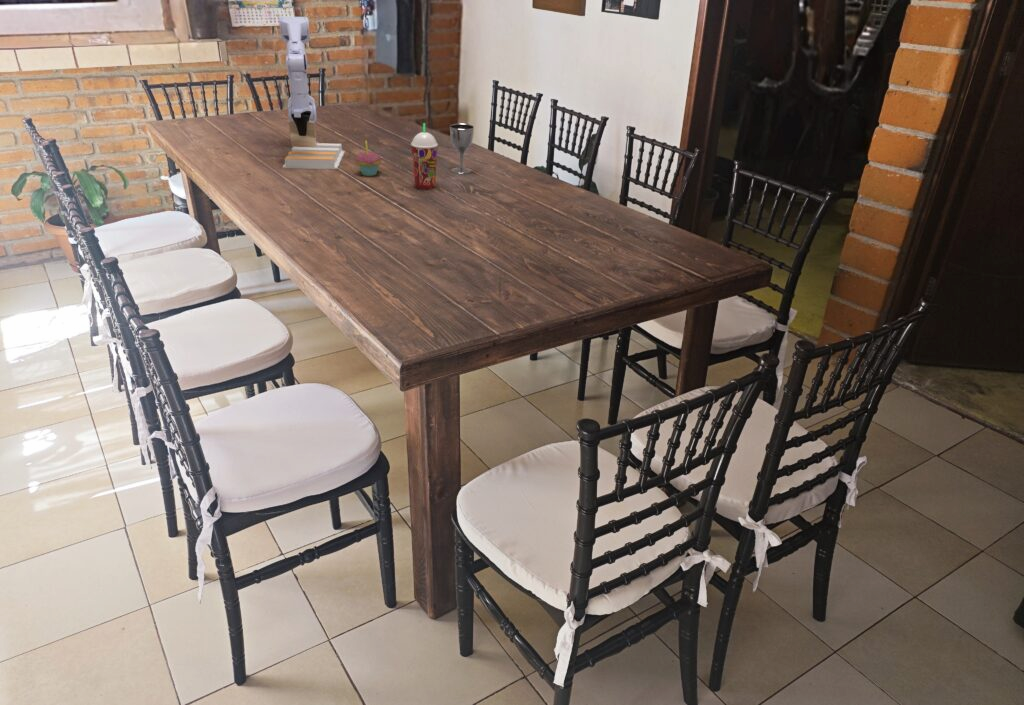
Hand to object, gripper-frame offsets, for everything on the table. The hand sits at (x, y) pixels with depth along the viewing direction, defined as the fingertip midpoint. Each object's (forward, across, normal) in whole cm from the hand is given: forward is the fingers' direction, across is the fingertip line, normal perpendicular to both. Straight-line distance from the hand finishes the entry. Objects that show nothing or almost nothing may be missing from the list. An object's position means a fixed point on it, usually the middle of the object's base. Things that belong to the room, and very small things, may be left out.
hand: (303, 134), depth 253 cm
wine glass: (+10, +3, +53) cm, 54 cm away
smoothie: (+10, +22, +41) cm, 48 cm away
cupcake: (+10, +9, +22) cm, 26 cm away
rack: (+10, -5, +2) cm, 12 cm away
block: (+4, 0, 0) cm, 4 cm away
